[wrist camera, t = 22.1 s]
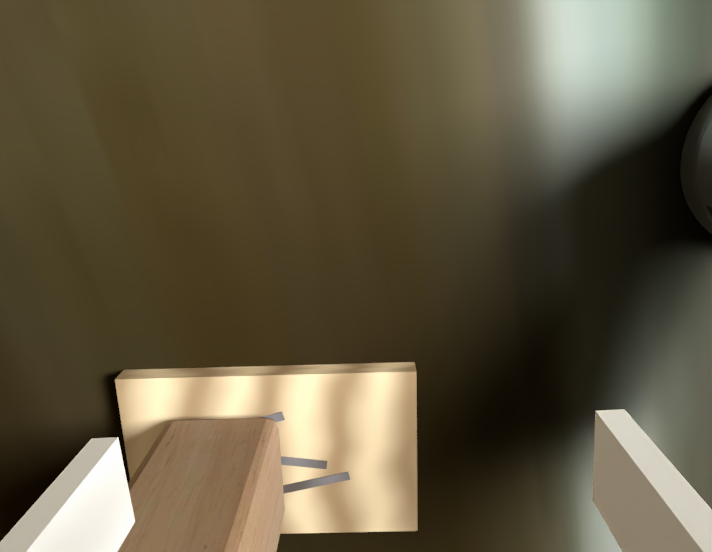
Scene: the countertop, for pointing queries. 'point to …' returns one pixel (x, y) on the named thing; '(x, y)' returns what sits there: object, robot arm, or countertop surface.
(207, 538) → the block
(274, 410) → the board
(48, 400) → the countertop surface
